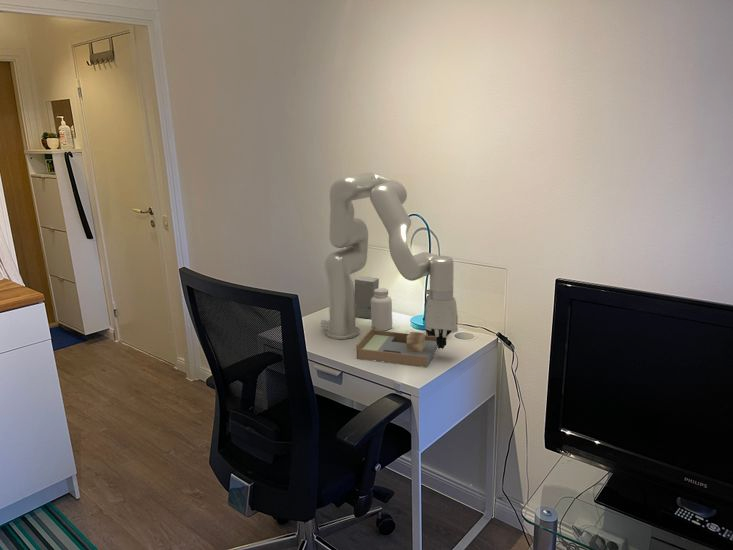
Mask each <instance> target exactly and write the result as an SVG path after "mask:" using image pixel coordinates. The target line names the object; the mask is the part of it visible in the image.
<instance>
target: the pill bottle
mask: <svg viewBox="0 0 733 550" xmlns="http://www.w3.org/2000/svg"><path fill="white" fill-rule="evenodd" d="M392 303H393V301H392V297H391V296H390V295H389V289H387V288H383V287H378V289H375V290H374V297H372V298H371V319H370V320H371V321H370V322H371V329H372V328H373V327H374V326H375V328H376V330H379V331H388V330H391V329H392V328H393V304H392Z"/></svg>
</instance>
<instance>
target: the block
mask: <svg viewBox="0 0 733 550" xmlns="http://www.w3.org/2000/svg"><path fill="white" fill-rule="evenodd" d="M407 334H408V336H407V351H412V352H422V351H423V349H424V347H425V335H426V333H425V332H417V331H409V333H407Z"/></svg>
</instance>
